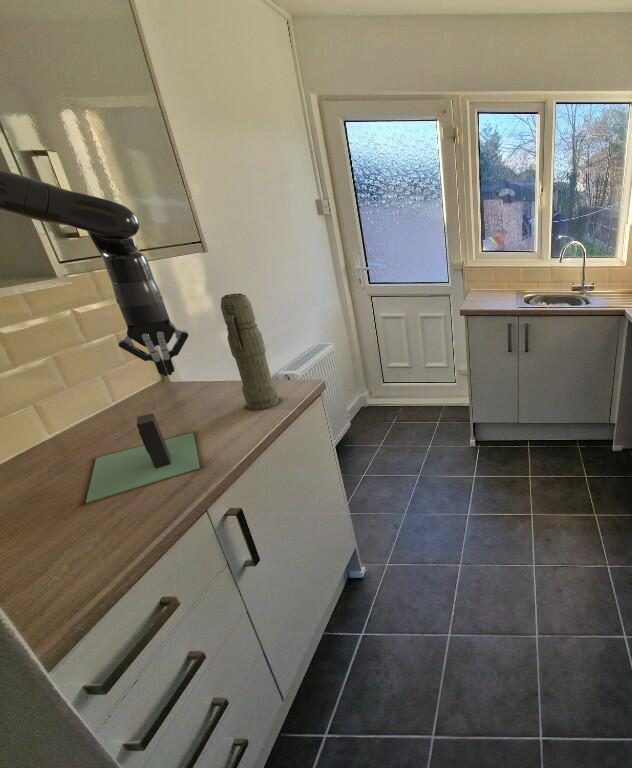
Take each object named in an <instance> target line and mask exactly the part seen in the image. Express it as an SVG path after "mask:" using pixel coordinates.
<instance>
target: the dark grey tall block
mask: <svg viewBox="0 0 632 768" xmlns="http://www.w3.org/2000/svg"><path fill="white" fill-rule="evenodd" d="M136 427H137V429H138V434H139V436H140V439H141V441H142V443H143V446H145V448H146V450H147V453H149V455H150V458H151V460H152V462H153V465H154V467H155V468H159V467H162V466H166V465H169V464H171V461H170V453H169V451H168V448H167V446H166V443H165V441H164V440H165V439H164V436H163V433H162V431H161V429H160V427H159V424H158V421H157V419H156V416H155V413H154V412H152V413H147V414H142V415H138V416H136Z"/></svg>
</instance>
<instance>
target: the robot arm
mask: <svg viewBox="0 0 632 768" xmlns="http://www.w3.org/2000/svg"><path fill="white" fill-rule="evenodd" d="M0 212H4V213H7V214H10V215H15V216H19V217H23V218H27V219H31V220H34V221H39V222H42V223H43V222H44V223H48V224H53V225H58V226H59V225H61V226H67V227H71V228H75V229H78V230H83V231H85V232H87V233H88V235H89V238H90V239H91V241H92V242H93V245H94V247H95V248H96V250H97V252H98V253H99V255H100V257H101V258H102V261H103V263H104V266H105V269H106V272H107V275H108V277H109V280H110V282H111V285H112V290H113V294H114V297H115V301H116V303H117V305H118V306H119V310H120V312H121V315H122V318H123V320H124V322H125V325H126V328H127V330H126V336H125V337H124V338H123V339H121V340H119V341H118V347H119V348H120V349H122V350H124V351H125V352H128V353H129V354H132V355H133V356H135V357H137V358H139V359H141V360H142V361H144V362H149V361H151V362H153V363H154V364H155V367H156V369H157V372H158V373H159V374H160V375H163V377H167V376H172V375H173V373H174V372H175V366H174V364H173V363H174V362H173V361H172V358H173V357H177V356H179V353H180V352H181V350H182V348H183V347H184V345H185V343H186V341H187V339H188V338H189V332H188V331H187V330H181V329H179V328H176V326H175V324H173V322H171V319H170V317H169V314H168V311H167V308H166V307H167V306H166V305H165V302H164V299H163V296H162V293H161V291H160V288H159V286H158V284H157V282H156V280H155V278H154V274H153V272H152V269H151V266H150V263H149V260H148V259H147V257H146V256H145V254H144V253H142V252H141V251H140V250H139V248H138V246H137V244H136V241H135V239H134V236H136V235H137V234H138V232H139V230H140V221H139V218H138V216H137V215H136V214H135V212H134V211H132V210H131V209H130V208H129V207H127V206H125V205H123V204H121V203H119V202H116V201H112V200H109V199H106V198H102V197H97V196H94V195H89V194H85V193H81V192H77V191H73V190H68V189H65V188H63V187H60V186H57V185H54V184H51V183H49V182H45V181H43V180H38V179H35V178H32V177H28V176H25V175H21V174H18V173H14V172H10V171H7V170H4V169H0ZM174 334H175V336H174ZM173 336H174V337H175V339H176V341H175V343H174V345H173V347H172V348H171V349H170V350H169V348H168V344H169V343H170V342H171V340H172V337H173ZM134 341H135V342H136V343H138V344H139V345H141V346H143V347H145V348H147V351H148V352H149V353H148V352H146V351H144V350H142V349H141V348H139V347H137V346H135V342H134ZM157 347H159V349H160V351H161V355H160V353H159V351H158V348H157ZM161 356H162V357H161Z"/></svg>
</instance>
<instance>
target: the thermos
mask: <svg viewBox="0 0 632 768" xmlns="http://www.w3.org/2000/svg"><path fill="white" fill-rule="evenodd" d="M220 310H221V313H222V314H221V315H222V317H223V320H224V323H225V325H226V331H227V342H228V347H229V349H230V352H231V355H232V357H233V359H234V360H235V362H236V366H237V371H238V373H239V376H240V379H241V383H242V394H243V397H244V400H245V403H246V404H247V408H248V410H251V411H261V410H266V409H269V408H272V407H274V406H276V405H277V404H278V403H279V402H280V400H279V398H278V390H277V387H276V383H275V381H274V380H273V379H272V375H271V373H270V368H269V364H268V361H267V356H266V346H265V343H264V339H263V335H262V332H261V330H260V329H259V328H258V324H257V323H256V317H255V313H254V308H253V305H252V303H251V301H250V299H249V298H248V296H247V295H246V294H243V293H229V294H225V295H223V296H222V297H221V298H220Z"/></svg>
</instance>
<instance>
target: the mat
mask: <svg viewBox="0 0 632 768" xmlns="http://www.w3.org/2000/svg"><path fill="white" fill-rule="evenodd" d="M164 441H165V443H166V446H167V448H168V451H169V453H170V461H171V464H169V465H166V466H162V467H159V468H155V467H154V465H153V462H152V460H151V458H150V455H149V453H147V450H146V448H145V446H144V445H140V446H137V447H133V448H129V449H126V450H125V449H124V450H122V451H118V452H114V453H110V454H106V455H103V456H98V457H96V458H95V461H94V465H93V470H92V474H91V478H90V482H89V486H88V491H87V496H86V499H85V504H89V503H92V502H96V501H99V500H102V499H105V498H109V497H111V496H116V495H118V494H121V493H124V492H128V491H132V490H134V489H137V488H140V487H144V486H148V485H151V484H154V483H157V482H161V481H164V480H168V479H170V478H173V477H177V476H180V475H183V474H187V473H189V472H193V471H196V470H199V469H201V467H200V461H199V456H198V451H197V445H196V440H195V434H194V432H189V433H186V434H182V435H178V436H175V437H170V438H166V439H164Z"/></svg>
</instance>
